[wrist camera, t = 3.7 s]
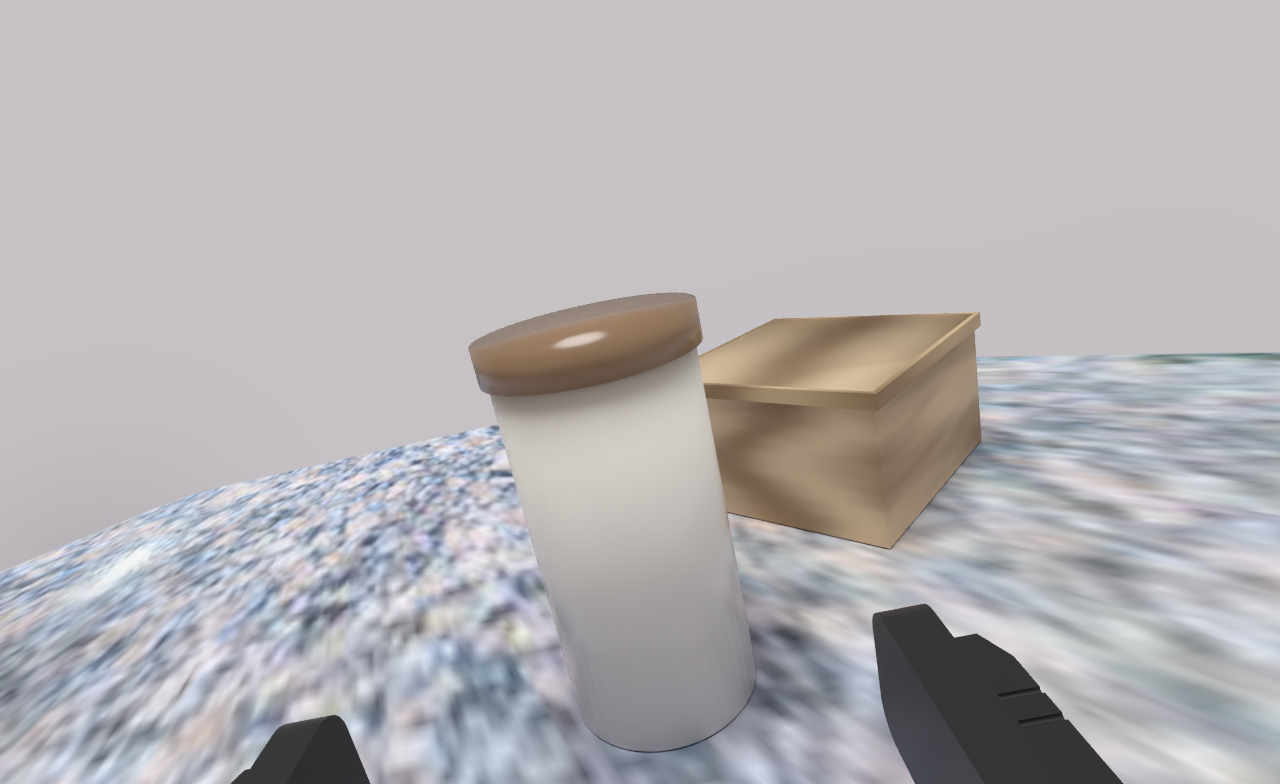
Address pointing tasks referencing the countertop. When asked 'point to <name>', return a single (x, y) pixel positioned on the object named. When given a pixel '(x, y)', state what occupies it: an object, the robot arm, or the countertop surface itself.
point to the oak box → (843, 419)
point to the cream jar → (626, 513)
